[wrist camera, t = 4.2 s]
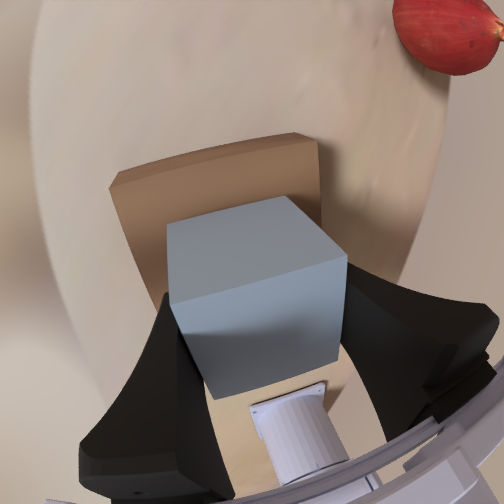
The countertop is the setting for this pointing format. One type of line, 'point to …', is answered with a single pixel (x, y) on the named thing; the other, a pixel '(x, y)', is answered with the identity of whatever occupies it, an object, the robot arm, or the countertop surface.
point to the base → (210, 192)
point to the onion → (449, 33)
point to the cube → (256, 294)
